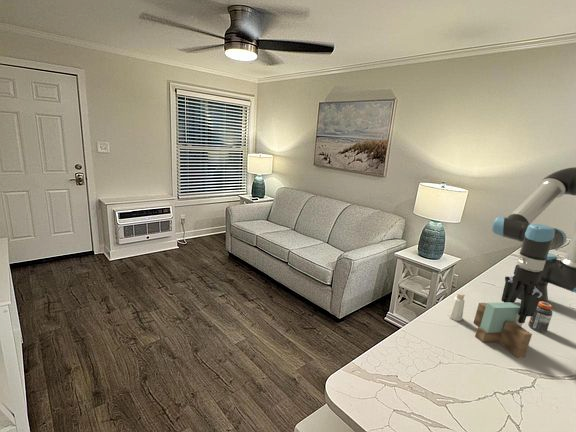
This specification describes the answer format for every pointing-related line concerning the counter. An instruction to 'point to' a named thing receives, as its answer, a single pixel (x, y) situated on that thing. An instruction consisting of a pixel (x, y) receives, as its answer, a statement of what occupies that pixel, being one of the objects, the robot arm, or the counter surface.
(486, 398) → the counter surface
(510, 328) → the walnut joint base
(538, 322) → the pill bottle
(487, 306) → the teal block
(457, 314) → the pepper shaker
